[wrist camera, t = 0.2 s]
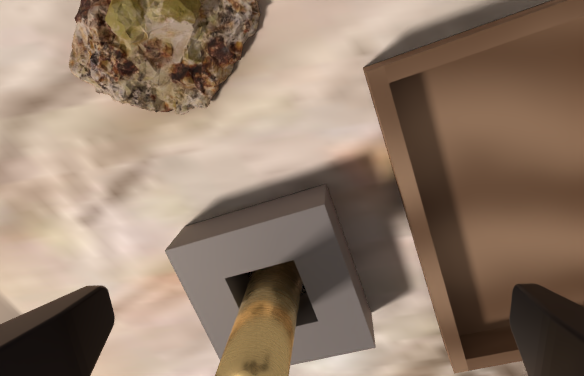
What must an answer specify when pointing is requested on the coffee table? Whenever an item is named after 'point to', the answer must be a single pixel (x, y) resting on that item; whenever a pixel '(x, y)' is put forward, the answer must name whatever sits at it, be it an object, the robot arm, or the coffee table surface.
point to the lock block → (271, 251)
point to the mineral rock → (160, 49)
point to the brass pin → (264, 324)
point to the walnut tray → (490, 168)
